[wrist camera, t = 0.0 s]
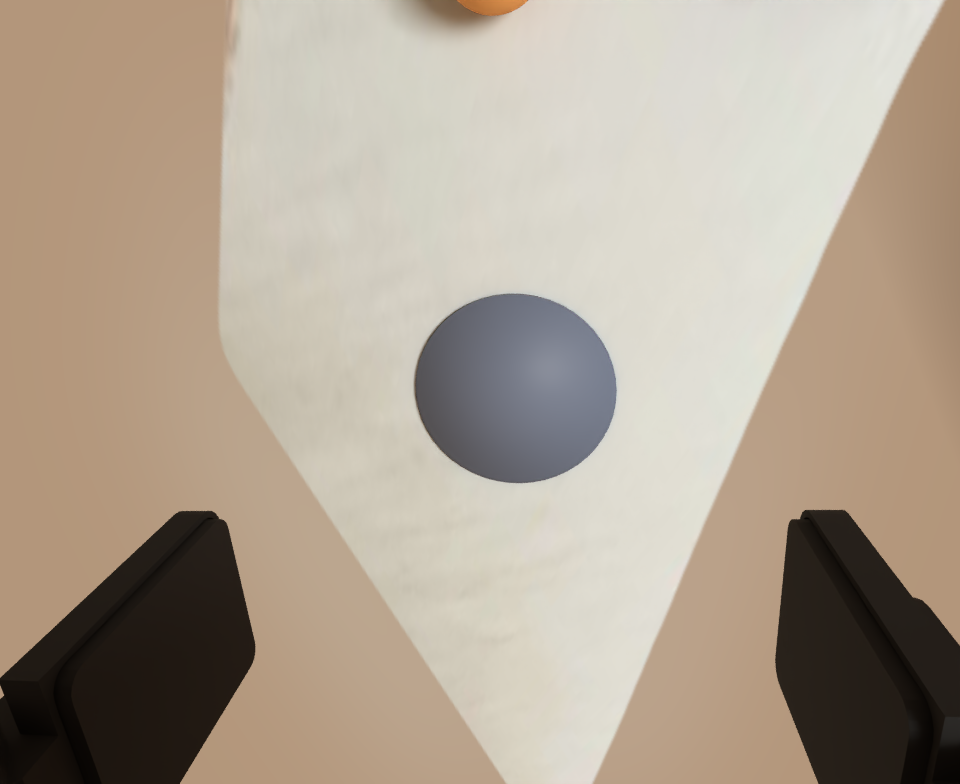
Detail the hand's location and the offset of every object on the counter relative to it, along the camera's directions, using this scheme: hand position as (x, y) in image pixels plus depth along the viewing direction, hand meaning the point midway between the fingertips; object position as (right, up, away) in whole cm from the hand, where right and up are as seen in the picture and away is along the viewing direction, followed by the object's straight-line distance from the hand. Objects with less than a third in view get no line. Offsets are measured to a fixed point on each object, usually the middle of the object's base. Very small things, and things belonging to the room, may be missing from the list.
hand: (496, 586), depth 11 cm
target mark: (+2, +3, +32) cm, 32 cm away
